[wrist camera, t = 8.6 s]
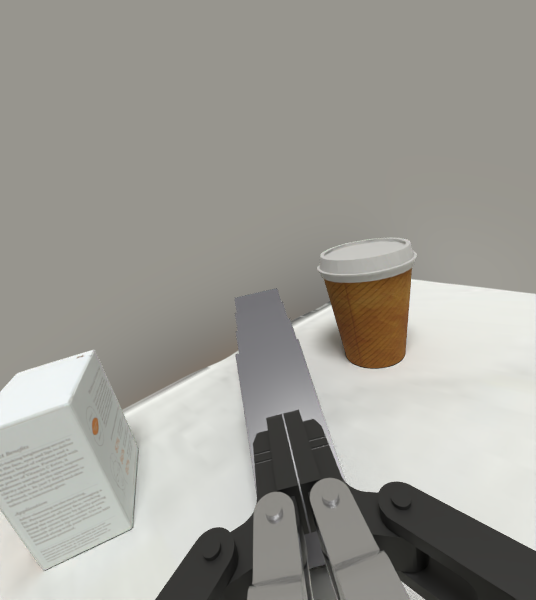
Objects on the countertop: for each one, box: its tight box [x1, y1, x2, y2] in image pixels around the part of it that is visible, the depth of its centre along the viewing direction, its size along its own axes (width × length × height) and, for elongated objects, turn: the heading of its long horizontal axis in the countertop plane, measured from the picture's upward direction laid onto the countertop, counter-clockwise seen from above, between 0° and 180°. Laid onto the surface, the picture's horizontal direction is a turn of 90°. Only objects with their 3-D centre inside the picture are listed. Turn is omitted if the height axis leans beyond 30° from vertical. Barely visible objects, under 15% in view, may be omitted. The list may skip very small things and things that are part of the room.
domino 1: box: [235, 288, 281, 312], centre depth 31 cm, size 2×5×13 cm
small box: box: [0, 350, 138, 570], centre depth 21 cm, size 8×6×10 cm
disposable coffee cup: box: [317, 238, 417, 368], centre depth 32 cm, size 10×10×12 cm
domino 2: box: [235, 302, 288, 331], centre depth 27 cm, size 2×5×13 cm
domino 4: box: [236, 339, 346, 569], centre depth 20 cm, size 2×5×13 cm
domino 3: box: [236, 319, 296, 354], centre depth 23 cm, size 2×5×13 cm
